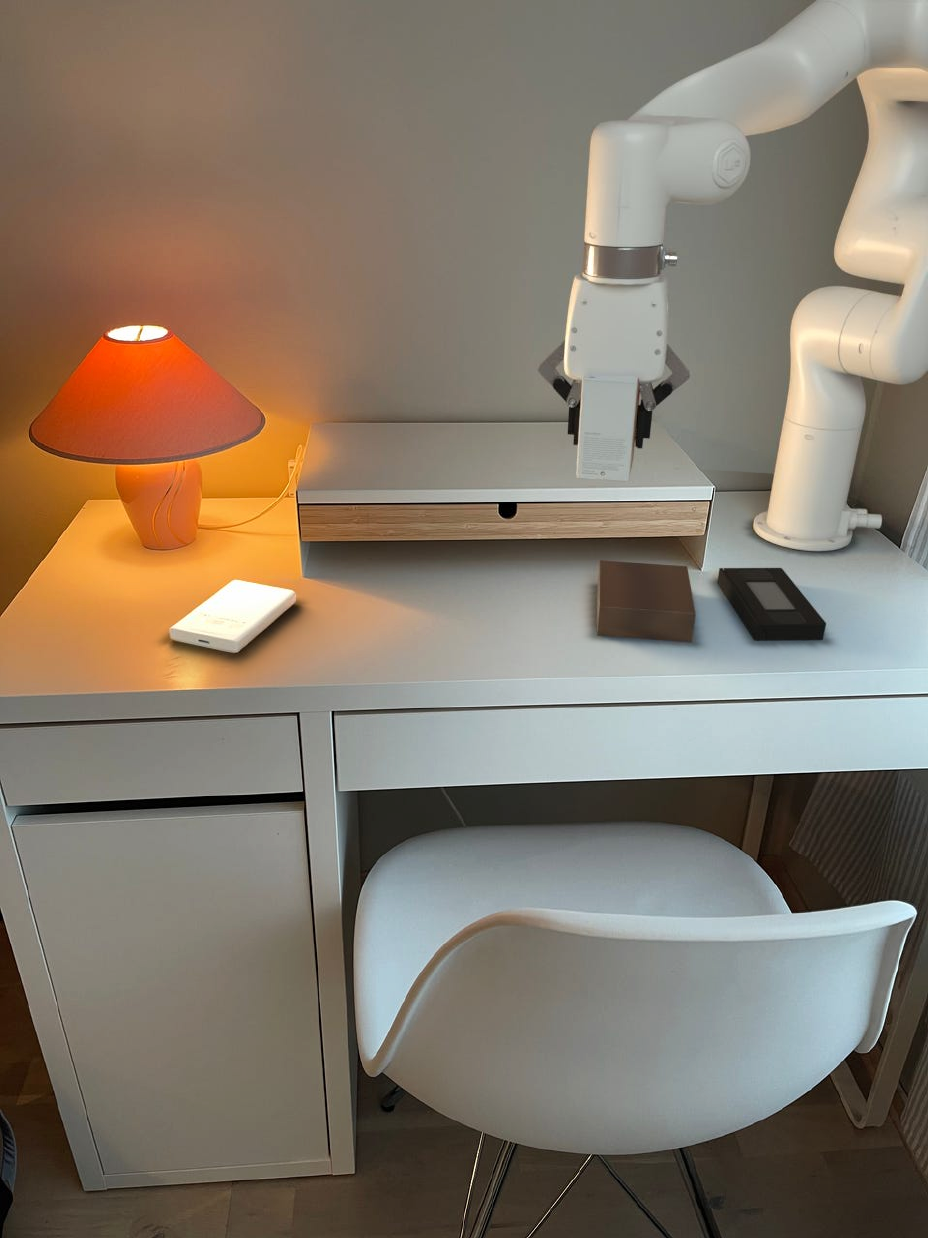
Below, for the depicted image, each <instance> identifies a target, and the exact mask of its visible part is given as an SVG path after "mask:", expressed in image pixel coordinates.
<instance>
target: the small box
mask: <svg viewBox="0 0 928 1238" xmlns="http://www.w3.org/2000/svg"><path fill="white" fill-rule="evenodd" d="M640 396H641V394H640V390H639V378H638V377H633V376H607V375H589V376H584V377H583V379H582V391H581V407H580V422H579V438H578V445H577V454H576V455H577V456H576V457H577V458H576V478H577V479H582V480H583V479H585V480H600V481H612V482H613V481H614V482H627V483H628V482H630V478H631V471H632V468H633V467H632V466H633V462H634V458H635V436H636V425H637V414H638V405H640Z"/></svg>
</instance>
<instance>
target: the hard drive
mask: <svg viewBox="0 0 928 1238" xmlns="http://www.w3.org/2000/svg"><path fill="white" fill-rule="evenodd" d="M296 603H297V593H296V592H295V590H294V591H293V590H291V589H288V588H287V589H286V588H281V587H276V586H270V585H265V584H260V583H255V582H250V581H249V582H248V581H244V580H240V579H239V580H238V579H234V580H232V581H231V582H229V583H228V584H227V585H225V586H224V587H222V588H221V589H220V590H219V591H217V592H216V593H214V594H213V595H212V596H211V597H209V598H208V599H207V600H205V601H204V602H203V603H202V604H200V605H199V606H198V607H196V608H195V609H193V610H192V611H191V612H190V613H188V614H187V615H186V616H185V617H183V618H181V619H180V620H179V621H178V622H176V623H175V624H174V625H172V626H171V627H170V628H169V629H168V632H169V638H170V639H171V640H173V641H175V642H179V643H184V644H189V645H193V646H199V647H204V648H208V649H212V650H218V651H221V652H227V653H232V654H235V653H239V652H240V651H241V650H242V649H244V648H245V647H247V646H248V644H250V643H251V642H252V641H253V640H254V639H255V638H257V636H260V634H261V633H262V632H264V631H265V630H266V629H267V628H268V627H269V626H270V625H272V623H274V622H275V621H277V619H278V618H280V617H281V615H283V614H284V613H285V612H286V611H287V610H289V609H290V608H291V607H292V606H293V605H295V604H296Z"/></svg>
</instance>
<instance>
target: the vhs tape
mask: <svg viewBox="0 0 928 1238" xmlns="http://www.w3.org/2000/svg"><path fill="white" fill-rule="evenodd" d="M716 582H717V585H718V586H719V587H720V589H721V590H722V592H723V594H724V595H725V597H726V599H727V600H728V602H730V604H731V606H732V607H733V609H734V611H735V612H736V613H737V615H738V616H739V617H738V618H739V619H740V620H741V622H742V623H743V624H744V626H745V627H746V629H747V631H748V632H749V634H750V635H751V637H752V638H753V640H754V641H822V640H824V637H825V633H826V626H827V622H826V621H825V619H823V617H822V616H821V615H820V614H819V612H818V611H817V610H816V609H815V607H814V606H813V605H812V604H811V603H810V601H809V600H808V598H807V597H806V596H805V595H804V594H803V593H802V591H801V590H800V588H799V587H798V586H797V585H796V584H795V582H794V581H793V580H792V579H791V578H790V577H789V575H788V574H787V573H786V572H785V570H784V569H783V568H782V567H719V569H718V575H717V581H716Z"/></svg>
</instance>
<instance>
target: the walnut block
mask: <svg viewBox="0 0 928 1238" xmlns="http://www.w3.org/2000/svg"><path fill="white" fill-rule="evenodd" d="M596 599H597V600H596V602H597V603H596V604H597V605H596V606H597V607H596V609H597V610H596V636H602V637H614V638H629V639H639V640H640V639H641V640H655V641H666V642H667V641H669V642H680V643H692V641H693V635H694V628H695V620H696V614H697V613H696V606H695V601H694V596H693V591H692V585H691V580H690V574H689V569H688V566H687V565H676V564H675V565H674V564H660V563H647V562H646V563H645V562H644V563H643V562H631V561H630V562H629V561H615V560H603V559H602V560H601V559H600V561H599V568H598V579H597V598H596Z"/></svg>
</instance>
